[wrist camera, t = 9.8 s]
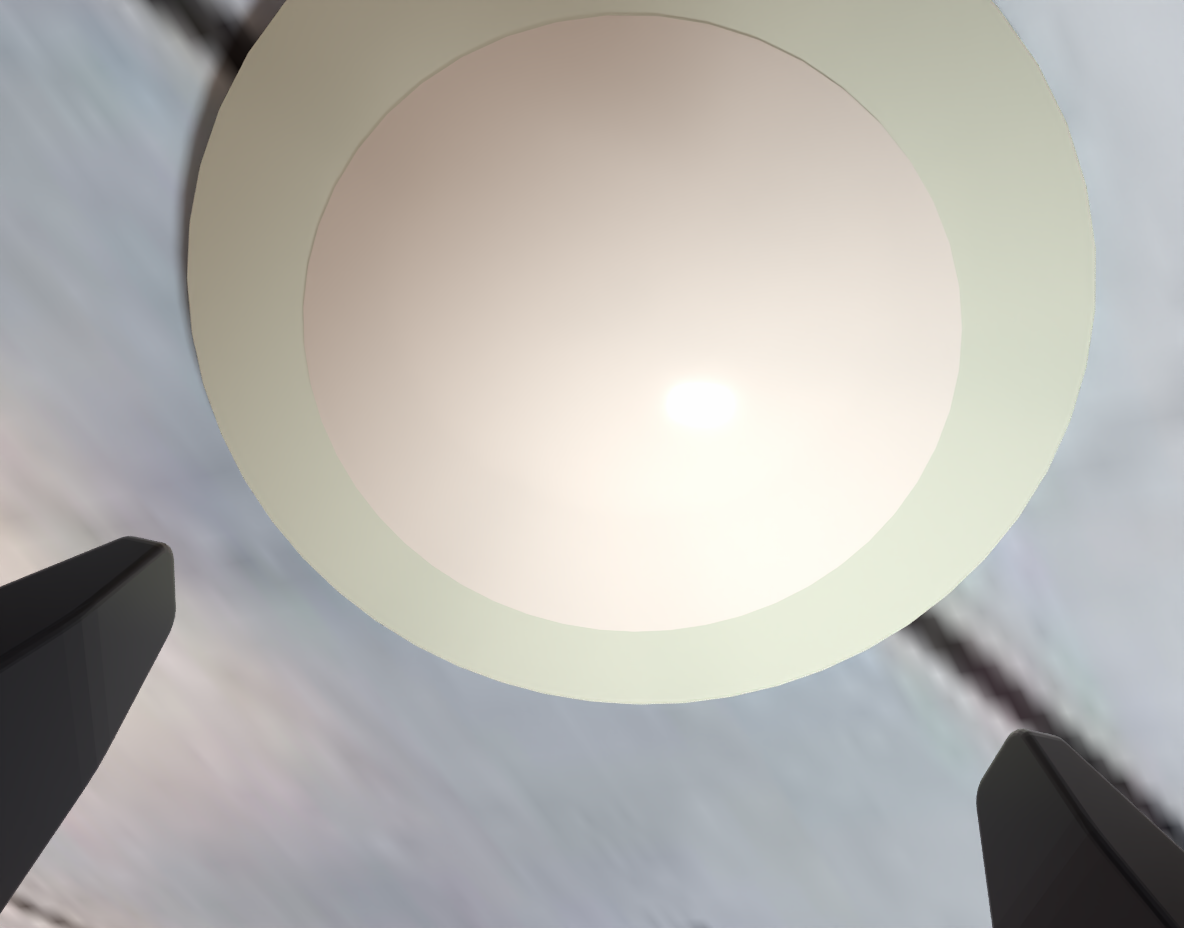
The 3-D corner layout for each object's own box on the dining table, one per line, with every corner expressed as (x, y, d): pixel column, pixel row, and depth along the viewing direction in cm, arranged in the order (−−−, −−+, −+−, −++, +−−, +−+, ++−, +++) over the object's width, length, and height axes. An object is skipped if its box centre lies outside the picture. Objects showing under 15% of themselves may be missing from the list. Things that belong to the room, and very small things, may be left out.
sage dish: (1288, -12, 12) (1308, -11, 12) (884, 752, 19) (889, 768, 19) (187, -278, 12) (171, -286, 11) (204, 607, 19) (194, 620, 19)
